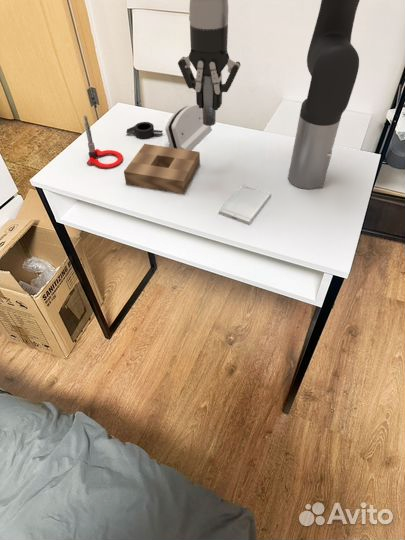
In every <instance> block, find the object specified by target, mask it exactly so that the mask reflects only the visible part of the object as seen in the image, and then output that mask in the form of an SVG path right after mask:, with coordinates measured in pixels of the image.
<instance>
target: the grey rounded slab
mask: <svg viewBox="0 0 405 540" xmlns="http://www.w3.org/2000/svg"><path fill="white" fill-rule="evenodd" d="M164 128H165V129H164V130H165V132H166V136H167V139H168V143H169V144H168V145H169V147H170V148H177V149H183V150H190V151H193V149H195V148H196V147H197V145H198V144H200V142H202V141H203V140H204V139H205V138H206V137H207V136H208V134H210V132H212V131H213V129H212V126H206V125H204V124H203V108H199V105H197V104H191V105H186V106H184V107H181V108H179V109H178V110H177V111H175V112H174V113H173V114H172V115H171V117H170V118H169V119H168V121H167V122H166V125H165V127H164Z"/></svg>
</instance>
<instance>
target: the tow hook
mask: <svg viewBox="0 0 405 540" xmlns="http://www.w3.org/2000/svg"><path fill="white" fill-rule="evenodd" d="M83 120H84V128H85V133H86V138H87V141H88V143H87V147H88V151H89V152H88V160H87V162H86V165H87V166H89V167H92V166H95V168H98V169H103V170H112V169H115V168H118V167H120V166H121V165H122V164H123V162H124V156H123V154H122V153H121V152H119V151H117V150H112V149H108V150H107V149H106V150H101V149H98V148H96V147H95V143H94V142H93V137H92V131H91V127H90V123H89V121H88V116H87V115H83ZM105 156H112V157H113V156H114V157H116V158H117V160H116V161H114V162H111V163H103V162H101V161H100V160H99V159H98V158H102V157H105Z"/></svg>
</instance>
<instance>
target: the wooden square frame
mask: <svg viewBox="0 0 405 540" xmlns="http://www.w3.org/2000/svg"><path fill="white" fill-rule="evenodd" d="M200 154H201V153H200V151H195V150H191V151H190V150H183V149H177V148H171V147H170V146H162V145H156V144H150V143H149V144H148V143H144V144H143V145H142V146H141V148H139V150H138V152H137V153H136V154H135V156H134V157H133V158H132V160H131V161H130V162H129V164H128V165H127V166H126V168H125V169H124V171H123V174H124V179H125V185H127V186H133V187H140V188H144V189H150V190H156V191H160V192H161V191H162V192H165V193H166V192H167V193H171V194H179V195H185V193H186V192H187V190H188V187H189V186H190V185H191V182H192V180H193V178H194V176H195V175H196V173H197V171H198V169H199V167H200V165H201V162H200V161H201V160H200V156H201V155H200Z"/></svg>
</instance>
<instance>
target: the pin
mask: <svg viewBox="0 0 405 540" xmlns="http://www.w3.org/2000/svg"><path fill="white" fill-rule="evenodd" d="M214 94H215V90H214V84H213V82H212V76H205V75H203V76H202V95H203V108H202V112H203V124H204V125H206V126H211V127H212V126H214V125H215V124H216V120H217V119H216V117H217V115H216V114H217V113H216V112H217V110H214Z"/></svg>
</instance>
